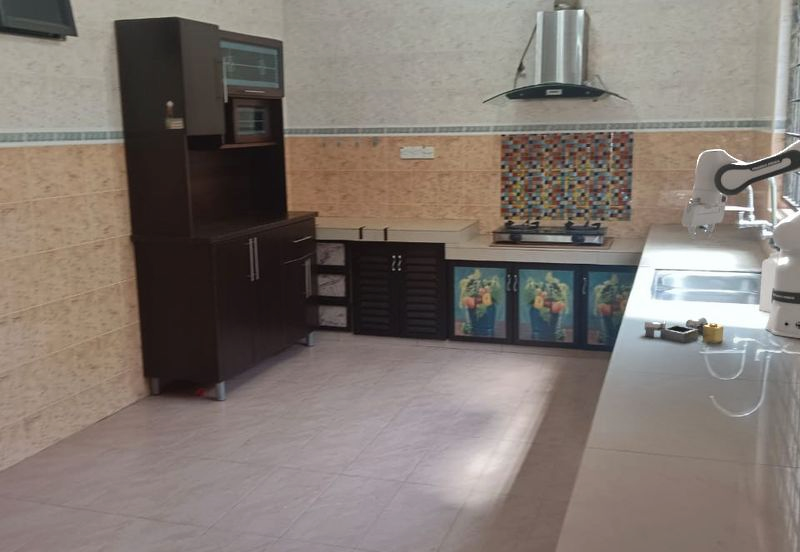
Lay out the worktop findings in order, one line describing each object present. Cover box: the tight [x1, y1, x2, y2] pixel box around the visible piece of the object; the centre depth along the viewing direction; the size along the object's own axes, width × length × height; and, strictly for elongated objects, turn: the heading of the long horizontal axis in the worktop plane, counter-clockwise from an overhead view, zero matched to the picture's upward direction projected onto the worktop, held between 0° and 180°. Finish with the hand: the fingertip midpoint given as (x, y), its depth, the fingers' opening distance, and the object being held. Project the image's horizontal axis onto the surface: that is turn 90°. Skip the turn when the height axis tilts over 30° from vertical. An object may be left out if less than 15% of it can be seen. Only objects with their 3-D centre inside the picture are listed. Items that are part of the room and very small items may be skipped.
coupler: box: [701, 322, 724, 344], centre depth 262 cm, size 4×4×6 cm
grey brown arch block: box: [644, 321, 667, 338], centre depth 269 cm, size 6×4×5 cm, turn 74°
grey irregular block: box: [685, 317, 709, 334], centre depth 273 cm, size 8×4×5 cm, turn 129°
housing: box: [659, 324, 699, 344], centre depth 266 cm, size 8×8×3 cm
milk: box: [758, 251, 780, 313], centre depth 301 cm, size 6×6×22 cm
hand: (699, 237), depth 277 cm, fingers open, 8 cm apart
